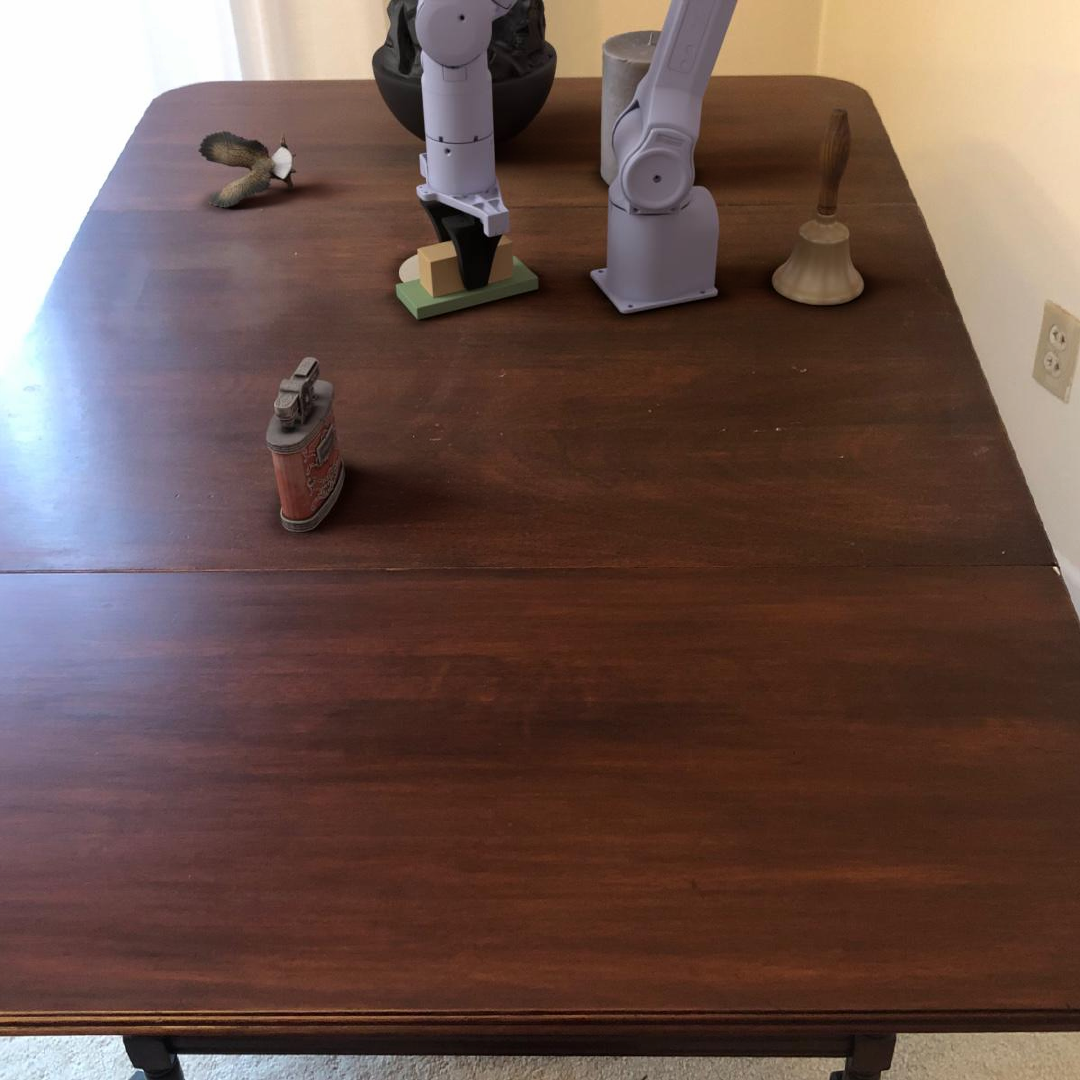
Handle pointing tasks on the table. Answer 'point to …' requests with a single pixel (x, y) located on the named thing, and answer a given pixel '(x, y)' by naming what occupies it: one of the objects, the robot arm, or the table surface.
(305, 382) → the lighter
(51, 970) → the table surface
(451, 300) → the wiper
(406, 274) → the spill
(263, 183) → the eagle figurine
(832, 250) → the hand bell
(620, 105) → the pillar candle
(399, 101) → the bowl of black rocks
